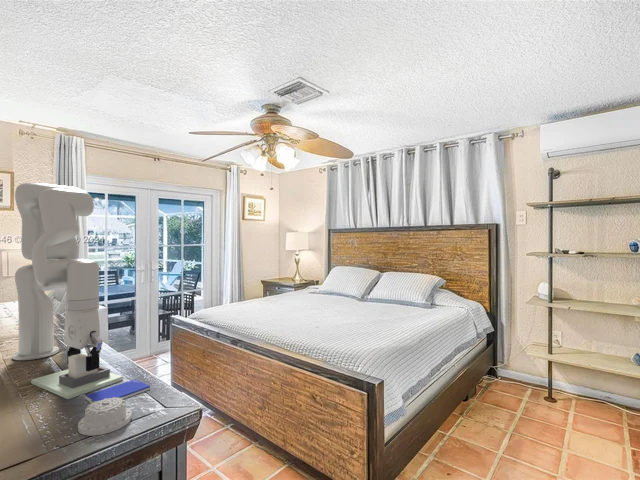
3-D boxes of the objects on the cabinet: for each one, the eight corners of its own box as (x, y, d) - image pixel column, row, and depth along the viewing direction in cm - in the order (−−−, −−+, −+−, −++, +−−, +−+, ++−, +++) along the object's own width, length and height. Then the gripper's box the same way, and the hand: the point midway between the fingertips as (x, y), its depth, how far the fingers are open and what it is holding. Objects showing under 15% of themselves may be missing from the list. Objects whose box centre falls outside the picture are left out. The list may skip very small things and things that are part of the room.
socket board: (31, 383, 97) (31, 372, 97) (85, 367, 109) (85, 357, 109) (67, 399, 87) (67, 387, 87) (122, 379, 99) (122, 369, 99)
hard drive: (134, 378, 98) (84, 394, 88) (150, 385, 93) (99, 403, 83) (134, 384, 98) (85, 400, 88) (150, 391, 93) (99, 409, 83)
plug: (68, 382, 95) (68, 356, 95) (93, 374, 101) (93, 350, 101) (75, 385, 93) (75, 359, 93) (101, 377, 99) (100, 352, 99)
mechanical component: (65, 434, 72) (107, 439, 70) (65, 413, 72) (107, 417, 70) (104, 411, 82) (141, 415, 80) (104, 392, 82) (141, 396, 80)
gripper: (52, 304, 98) (52, 365, 98) (85, 310, 89) (85, 377, 89) (81, 300, 104) (81, 357, 104) (114, 305, 96) (114, 367, 96)
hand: (83, 366), depth 97 cm, fingers open, 9 cm apart
